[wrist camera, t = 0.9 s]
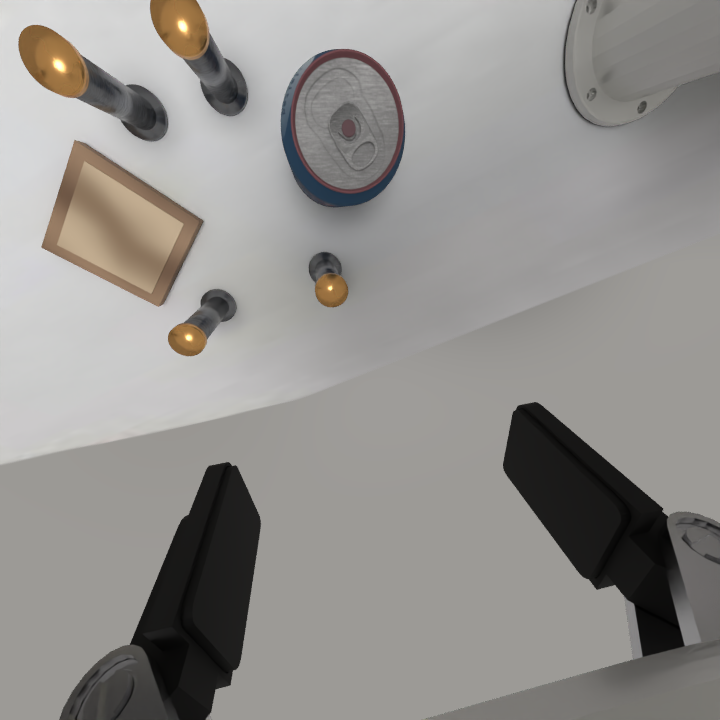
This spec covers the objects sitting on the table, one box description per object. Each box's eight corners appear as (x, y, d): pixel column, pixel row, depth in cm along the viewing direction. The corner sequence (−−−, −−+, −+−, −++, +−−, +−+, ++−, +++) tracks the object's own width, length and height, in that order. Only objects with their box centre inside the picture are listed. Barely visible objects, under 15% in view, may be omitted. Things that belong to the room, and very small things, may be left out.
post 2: (213, 47, 21) (155, -54, 13) (255, 84, 22) (226, 14, 14) (194, 92, 22) (129, 25, 14) (235, 126, 23) (198, 82, 15)
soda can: (272, 149, 24) (245, 103, 13) (337, 88, 23) (364, -16, 12) (325, 223, 27) (337, 233, 17) (385, 172, 26) (438, 148, 15)
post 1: (127, 74, 21) (16, -10, 13) (174, 110, 22) (99, 54, 14) (112, 119, 21) (0, 66, 14) (158, 151, 23) (79, 120, 15)
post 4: (320, 245, 28) (325, 259, 20) (347, 264, 29) (362, 285, 21) (302, 273, 29) (301, 297, 21) (329, 290, 30) (337, 320, 22)
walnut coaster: (84, 142, 22) (73, 139, 21) (203, 220, 25) (199, 221, 24) (51, 246, 24) (40, 247, 23) (163, 303, 28) (158, 307, 27)
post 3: (210, 282, 28) (172, 312, 20) (242, 301, 29) (217, 335, 21) (196, 309, 29) (154, 347, 21) (227, 326, 30) (199, 367, 22)
